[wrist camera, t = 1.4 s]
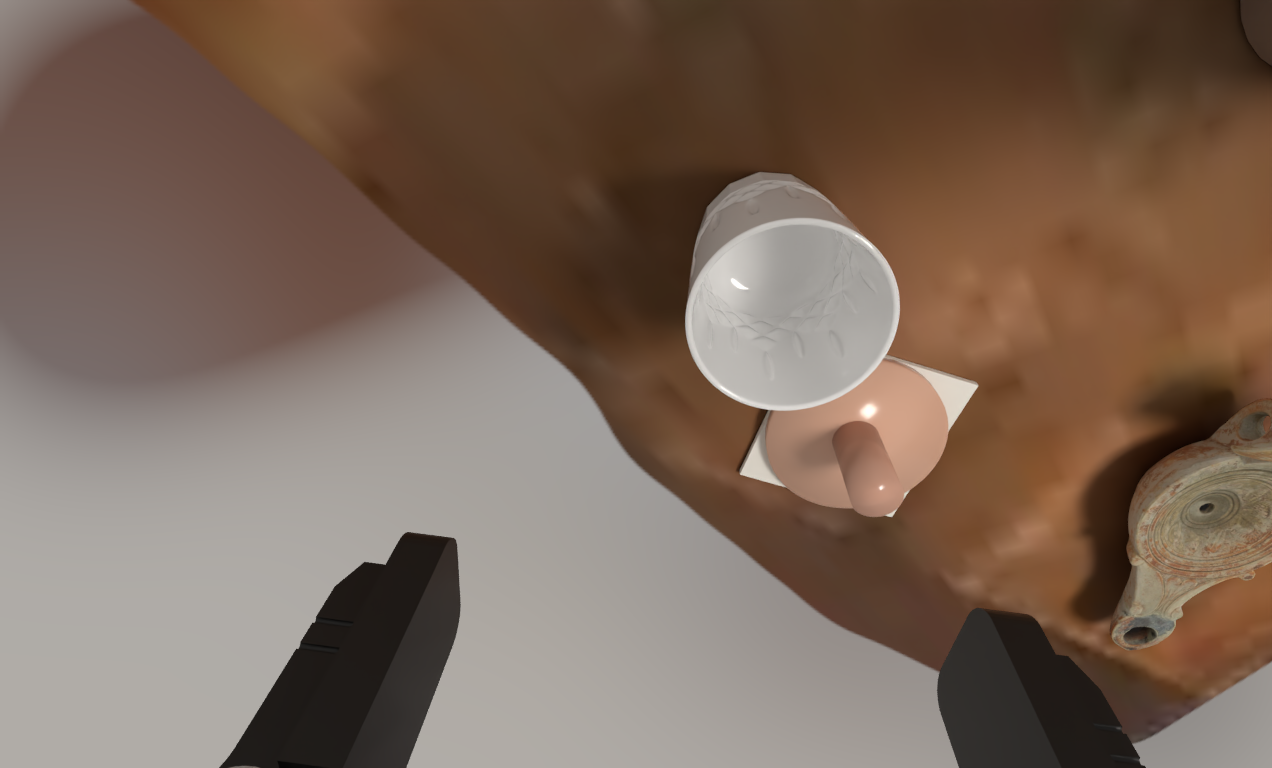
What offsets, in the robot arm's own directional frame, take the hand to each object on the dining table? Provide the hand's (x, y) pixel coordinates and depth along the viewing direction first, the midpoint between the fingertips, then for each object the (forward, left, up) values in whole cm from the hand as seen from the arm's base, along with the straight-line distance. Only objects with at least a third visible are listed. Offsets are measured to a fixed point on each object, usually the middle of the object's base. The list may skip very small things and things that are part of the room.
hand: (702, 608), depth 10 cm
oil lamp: (-33, +8, -26) cm, 43 cm away
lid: (-13, +10, -25) cm, 30 cm away
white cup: (-4, +1, -26) cm, 26 cm away
